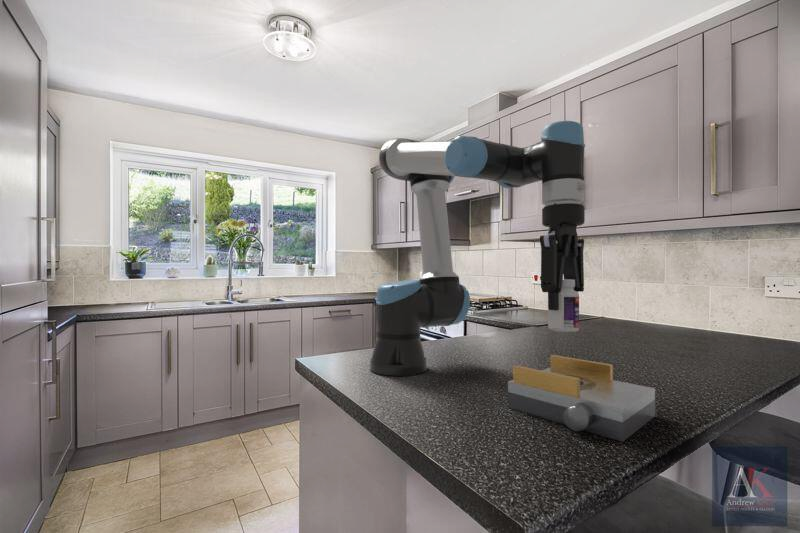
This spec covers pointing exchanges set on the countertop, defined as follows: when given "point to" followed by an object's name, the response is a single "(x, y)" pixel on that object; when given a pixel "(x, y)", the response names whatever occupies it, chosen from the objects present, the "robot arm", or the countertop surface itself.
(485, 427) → the countertop surface
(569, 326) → the pill bottle
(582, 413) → the grey clamp fixture
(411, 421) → the countertop surface
